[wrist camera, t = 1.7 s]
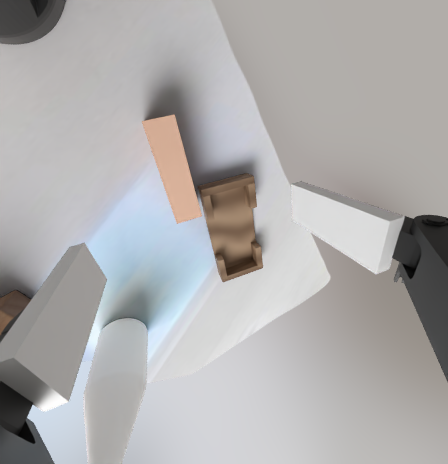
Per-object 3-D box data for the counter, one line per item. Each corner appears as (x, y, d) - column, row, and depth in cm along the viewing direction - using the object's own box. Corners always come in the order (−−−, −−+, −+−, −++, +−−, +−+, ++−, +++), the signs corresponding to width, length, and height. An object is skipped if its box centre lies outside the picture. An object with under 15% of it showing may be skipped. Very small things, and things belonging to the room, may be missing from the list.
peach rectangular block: (143, 122, 29) (141, 121, 24) (170, 117, 30) (174, 114, 25) (173, 210, 36) (176, 223, 31) (195, 204, 37) (201, 216, 31)
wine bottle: (107, 313, 41) (30, 619, 15) (153, 318, 45) (154, 564, 20) (94, 345, 43) (10, 654, 18) (139, 347, 48) (124, 598, 22)
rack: (197, 186, 35) (201, 190, 33) (246, 173, 37) (253, 176, 34) (219, 273, 45) (222, 282, 43) (257, 260, 47) (262, 267, 44)
